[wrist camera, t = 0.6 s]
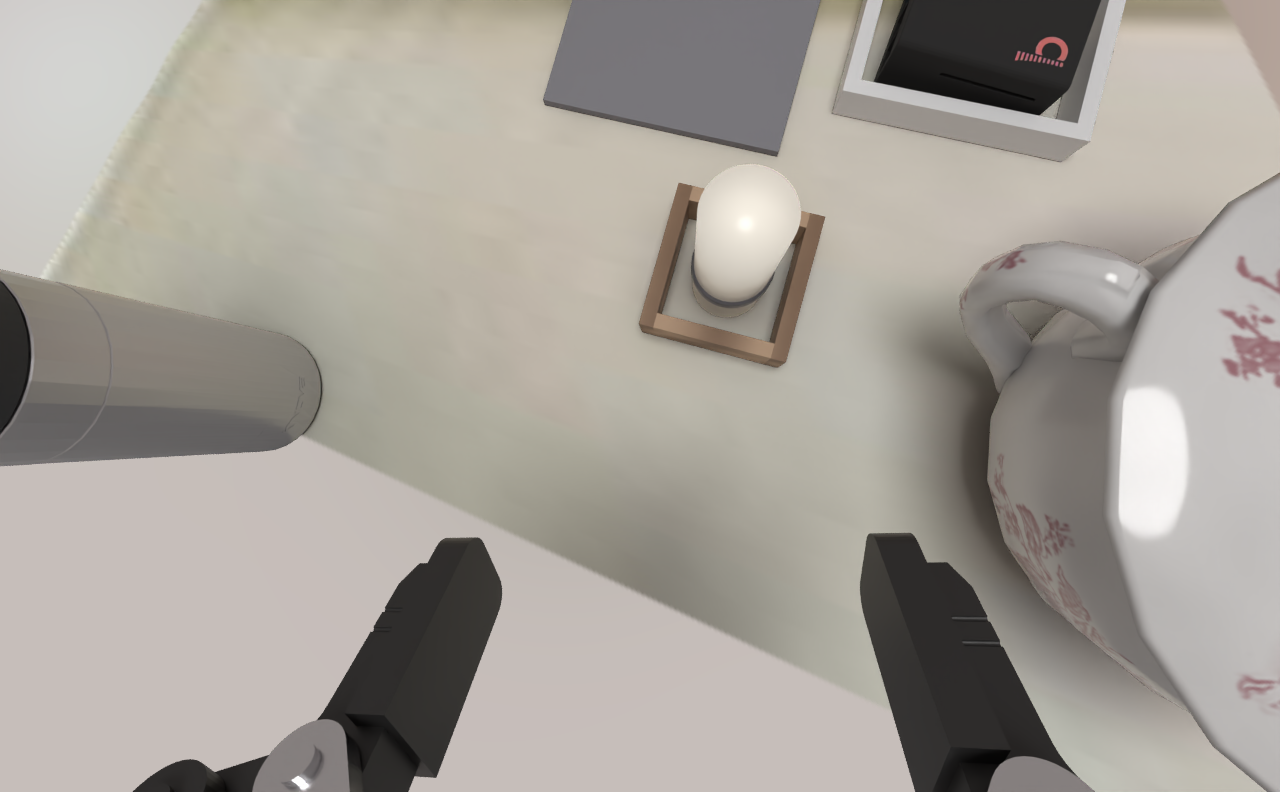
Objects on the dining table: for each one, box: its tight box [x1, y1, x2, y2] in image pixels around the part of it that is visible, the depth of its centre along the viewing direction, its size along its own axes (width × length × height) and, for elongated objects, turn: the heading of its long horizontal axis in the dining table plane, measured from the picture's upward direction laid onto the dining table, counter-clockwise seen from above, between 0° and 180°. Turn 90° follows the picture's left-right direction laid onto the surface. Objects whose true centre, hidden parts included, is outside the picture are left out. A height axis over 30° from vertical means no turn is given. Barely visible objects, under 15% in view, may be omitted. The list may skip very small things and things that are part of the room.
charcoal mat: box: [543, 0, 820, 156], centre depth 37 cm, size 18×16×1 cm
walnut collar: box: [639, 183, 825, 367], centre depth 35 cm, size 10×10×3 cm
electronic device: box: [874, 0, 1101, 116], centre depth 34 cm, size 7×11×5 cm
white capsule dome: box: [691, 164, 801, 318], centre depth 30 cm, size 5×5×12 cm
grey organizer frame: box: [832, 0, 1126, 162], centre depth 35 cm, size 16×12×2 cm
